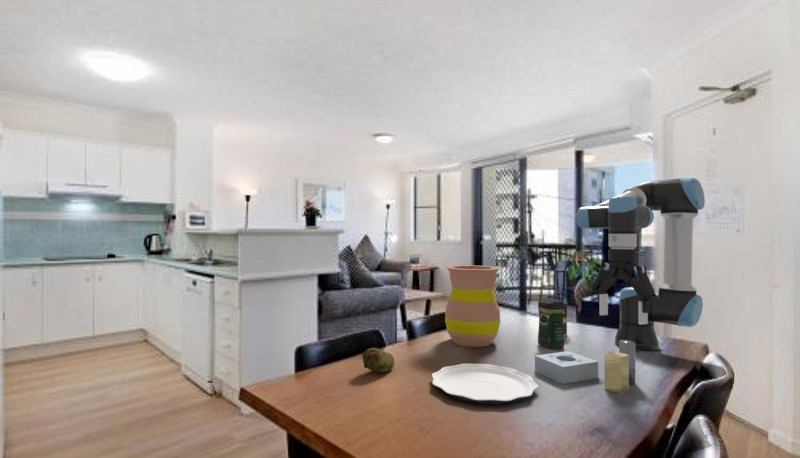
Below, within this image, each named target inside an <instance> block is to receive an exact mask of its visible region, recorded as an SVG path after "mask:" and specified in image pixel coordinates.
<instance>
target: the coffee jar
mask: <svg viewBox="0 0 800 458" xmlns="http://www.w3.org/2000/svg"><path fill="white" fill-rule="evenodd" d="M562 301H563V300H559V299H555V298H549V297H544V298H543V297H542V298H539V300H538V302H537V303H538V305H537V310H538V316H539V317H538V333H537V335H538V336H537V344H538V345H539V346H541V347H545V348H546V349H551V350H552V349H556V350H560V349H563V348H564V347H565V336H564V332H563V313H564V303H563V302H562Z"/></svg>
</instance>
